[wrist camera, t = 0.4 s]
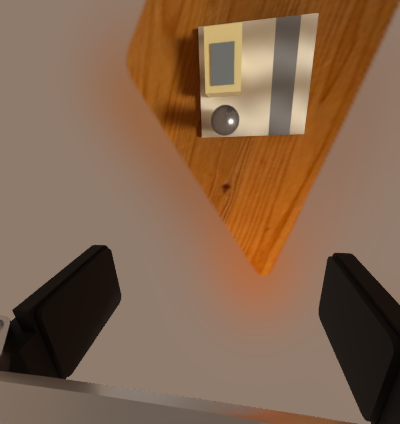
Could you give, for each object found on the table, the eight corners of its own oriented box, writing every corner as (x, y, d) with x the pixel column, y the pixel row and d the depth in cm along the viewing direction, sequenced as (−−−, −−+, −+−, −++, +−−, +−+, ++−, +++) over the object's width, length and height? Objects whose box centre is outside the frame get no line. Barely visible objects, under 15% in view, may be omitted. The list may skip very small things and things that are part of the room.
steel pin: (217, 111, 32) (210, 105, 24) (238, 110, 32) (239, 103, 24) (217, 134, 33) (211, 136, 25) (238, 133, 33) (238, 135, 25)
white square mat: (199, 30, 30) (198, 26, 29) (315, 16, 28) (318, 12, 27) (202, 137, 35) (201, 137, 34) (302, 133, 33) (303, 133, 32)
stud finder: (207, 39, 29) (203, 25, 25) (241, 35, 29) (242, 21, 25) (209, 97, 32) (205, 93, 28) (240, 95, 31) (240, 90, 27)
